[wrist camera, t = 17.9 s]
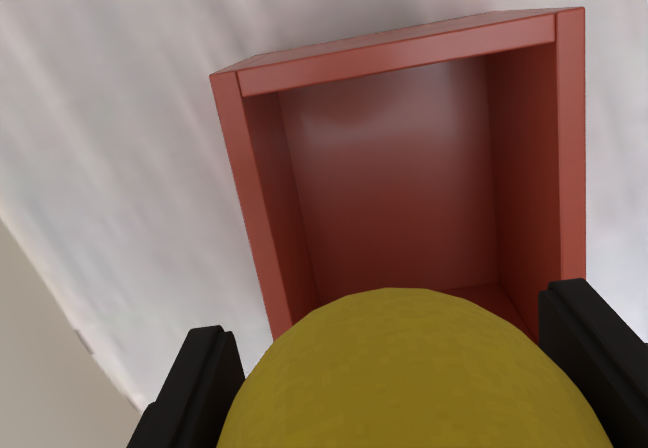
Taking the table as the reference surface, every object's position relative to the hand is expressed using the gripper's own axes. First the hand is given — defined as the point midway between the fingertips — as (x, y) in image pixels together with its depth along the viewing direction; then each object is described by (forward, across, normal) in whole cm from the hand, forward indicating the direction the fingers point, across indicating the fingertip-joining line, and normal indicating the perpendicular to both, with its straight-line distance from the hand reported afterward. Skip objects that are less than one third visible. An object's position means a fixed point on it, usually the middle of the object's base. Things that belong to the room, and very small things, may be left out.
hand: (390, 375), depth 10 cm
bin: (+19, -2, +2) cm, 19 cm away
